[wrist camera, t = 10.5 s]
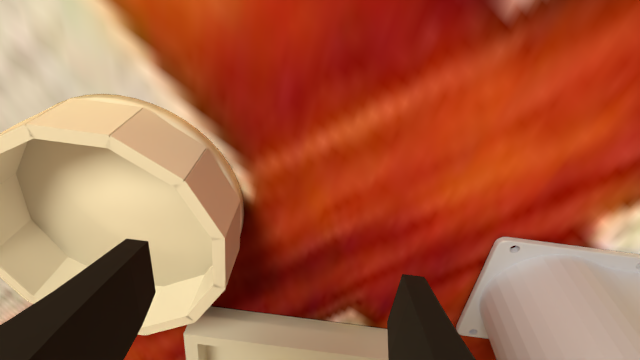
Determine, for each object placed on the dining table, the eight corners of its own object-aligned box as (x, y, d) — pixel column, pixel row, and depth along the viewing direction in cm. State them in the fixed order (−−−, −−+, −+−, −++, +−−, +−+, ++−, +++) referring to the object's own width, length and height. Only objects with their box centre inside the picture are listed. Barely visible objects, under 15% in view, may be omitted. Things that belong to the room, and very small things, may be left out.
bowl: (246, 112, 19) (223, 150, 15) (242, 290, 25) (226, 345, 22) (-10, 77, 18) (-91, 108, 15) (52, 266, 25) (5, 317, 21)
